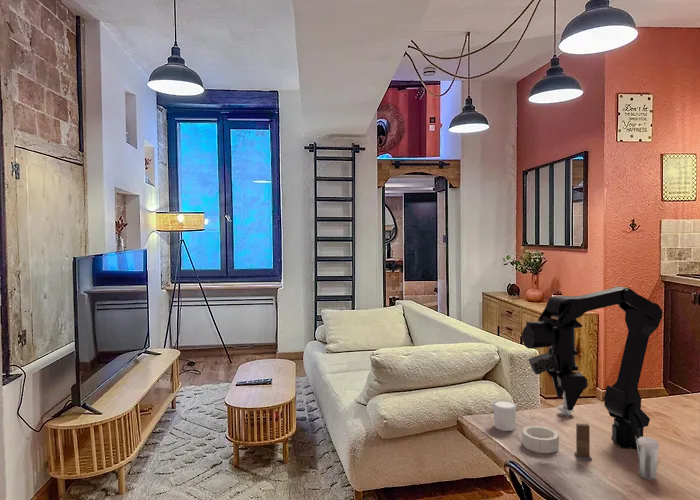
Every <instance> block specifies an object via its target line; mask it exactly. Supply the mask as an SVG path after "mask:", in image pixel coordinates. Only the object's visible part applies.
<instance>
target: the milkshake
mask: <svg viewBox="0 0 700 500" xmlns="http://www.w3.org/2000/svg"><path fill="white" fill-rule="evenodd" d="M635 438H636V436H635ZM636 444H637V448H636V450H637V452H636V453H637V461H638V462H637V464H638V473H639V474H638V475H639V476H640V477H641V478H642V479H644V480H647V481H648V480H649V481H654V480H656V479H657V470H658V469H657V468H658V456H659V448H660V445H659V443H658V441H657V440H655V439H654V438H651V437H649V436H643V437H640V438H638V439H637V438H636Z"/></svg>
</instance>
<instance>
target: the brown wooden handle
mask: <svg viewBox="0 0 700 500" xmlns="http://www.w3.org/2000/svg"><path fill="white" fill-rule="evenodd" d="M575 425H576V426H575V427H576V435H575V437H576V447H575V448H576V449H575V450H576V451H574V452H573V454H574V456H575V457H576V459H577V460H579V461H593V458H592V457H591V455H590V454H591V451H590V450H591V449H590V448H591V446H590V445H591V444H590V443H591V442H590V424H589V423H576V424H575Z"/></svg>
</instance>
